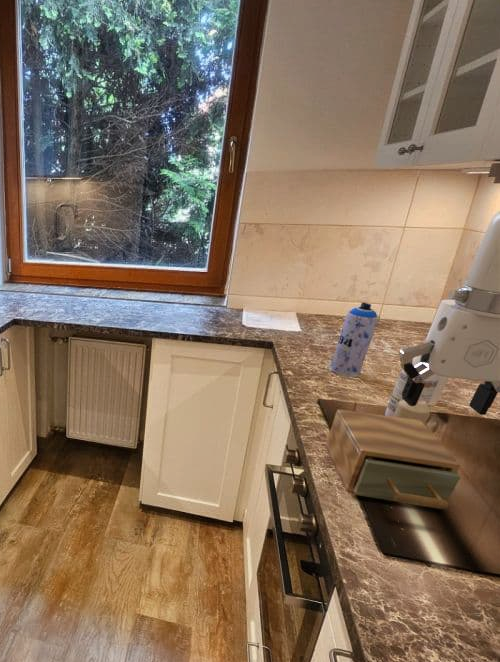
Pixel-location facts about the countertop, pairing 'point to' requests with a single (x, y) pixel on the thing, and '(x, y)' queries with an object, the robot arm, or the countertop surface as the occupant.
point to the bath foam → (397, 393)
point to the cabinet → (382, 443)
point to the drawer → (406, 482)
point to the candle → (413, 411)
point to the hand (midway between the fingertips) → (442, 406)
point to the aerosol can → (354, 341)
